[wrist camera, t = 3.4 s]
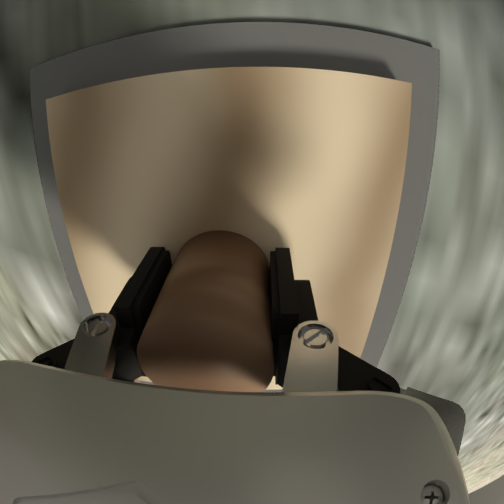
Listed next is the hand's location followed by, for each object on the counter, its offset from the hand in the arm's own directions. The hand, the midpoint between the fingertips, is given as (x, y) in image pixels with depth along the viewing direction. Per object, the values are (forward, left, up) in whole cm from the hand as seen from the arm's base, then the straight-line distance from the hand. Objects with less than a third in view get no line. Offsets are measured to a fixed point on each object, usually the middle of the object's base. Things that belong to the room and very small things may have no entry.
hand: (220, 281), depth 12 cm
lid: (0, 0, -2) cm, 2 cm away
